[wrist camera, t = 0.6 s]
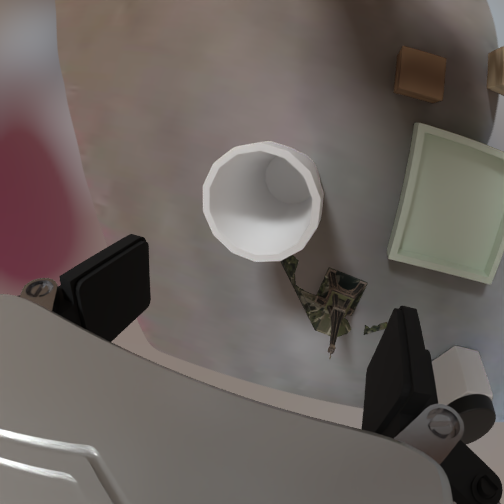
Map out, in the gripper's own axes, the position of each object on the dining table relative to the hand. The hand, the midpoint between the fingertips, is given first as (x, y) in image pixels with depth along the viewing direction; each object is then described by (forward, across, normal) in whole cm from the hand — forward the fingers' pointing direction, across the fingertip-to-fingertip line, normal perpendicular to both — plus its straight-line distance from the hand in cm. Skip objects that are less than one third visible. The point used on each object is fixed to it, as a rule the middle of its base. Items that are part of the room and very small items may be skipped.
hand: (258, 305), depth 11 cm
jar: (+26, -25, +21) cm, 42 cm away
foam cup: (+26, +4, +1) cm, 27 cm away
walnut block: (+26, -8, -14) cm, 31 cm away
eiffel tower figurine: (+27, -4, +14) cm, 31 cm away
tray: (+26, -15, -1) cm, 31 cm away
